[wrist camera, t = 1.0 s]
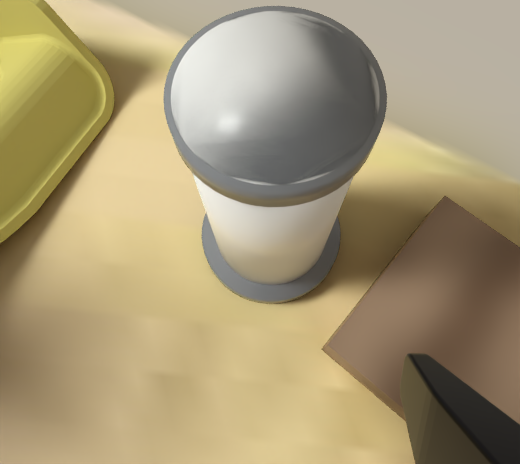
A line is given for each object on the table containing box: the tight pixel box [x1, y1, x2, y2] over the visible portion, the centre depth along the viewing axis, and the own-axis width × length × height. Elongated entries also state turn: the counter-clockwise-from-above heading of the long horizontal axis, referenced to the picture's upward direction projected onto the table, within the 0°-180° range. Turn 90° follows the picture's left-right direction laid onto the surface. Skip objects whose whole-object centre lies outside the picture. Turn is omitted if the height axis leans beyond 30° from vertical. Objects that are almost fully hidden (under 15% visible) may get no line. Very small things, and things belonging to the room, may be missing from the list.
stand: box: [322, 196, 520, 424], centre depth 21 cm, size 10×10×2 cm
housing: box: [164, 6, 387, 304], centre depth 19 cm, size 8×8×13 cm
